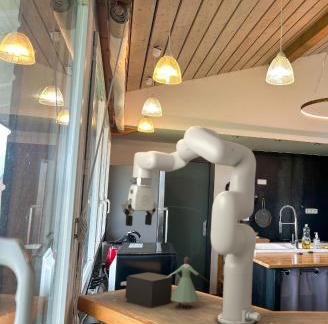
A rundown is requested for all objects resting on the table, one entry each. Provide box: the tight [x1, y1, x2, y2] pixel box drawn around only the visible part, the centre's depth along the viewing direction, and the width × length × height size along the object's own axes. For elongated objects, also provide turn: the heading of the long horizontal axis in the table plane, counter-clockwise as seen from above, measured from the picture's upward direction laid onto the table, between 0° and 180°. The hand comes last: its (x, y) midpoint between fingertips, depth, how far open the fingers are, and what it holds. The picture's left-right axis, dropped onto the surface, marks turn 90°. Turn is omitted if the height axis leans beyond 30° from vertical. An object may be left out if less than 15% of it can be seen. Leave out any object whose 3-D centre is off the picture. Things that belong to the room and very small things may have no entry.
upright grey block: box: [126, 271, 173, 309], centre depth 145 cm, size 13×10×9 cm
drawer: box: [120, 276, 128, 299], centre depth 148 cm, size 17×9×8 cm, turn 57°
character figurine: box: [167, 256, 210, 309], centre depth 141 cm, size 16×8×18 cm, turn 91°
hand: (138, 225), depth 153 cm, fingers open, 9 cm apart
